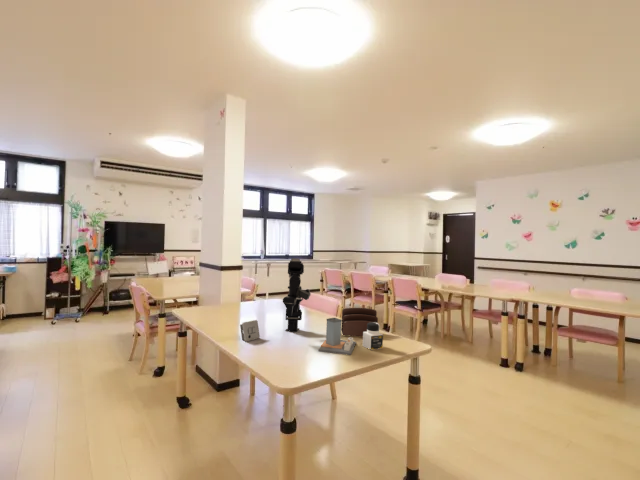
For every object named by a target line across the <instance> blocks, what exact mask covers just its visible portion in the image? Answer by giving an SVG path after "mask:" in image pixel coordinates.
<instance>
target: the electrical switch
mask: <svg viewBox="0 0 640 480" xmlns="http://www.w3.org/2000/svg"><path fill="white" fill-rule="evenodd" d="M241 323H242V324H239V326H240V327H239V328H240V334H241V341H244V342H251V341H253V340H257V339H260V337H261V336H260V328H259V320H257V319H253V320H250V321H244V322H241Z"/></svg>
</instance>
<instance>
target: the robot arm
mask: <svg viewBox="0 0 640 480" xmlns="http://www.w3.org/2000/svg"><path fill="white" fill-rule="evenodd" d="M304 268H305V267H304V263H303V262H302V260H300V258H296V257H295V258H291V260H289V262H287V274H288V278H289V280H288V282H289V283H288V284H289V285H288V286H287V289H288V293H287V296H284V297H283V298H282V303H283V305H284V307H285V308H286V309H285V320H286V321H287V328H286V329H285V330H284V331H285V332H293V333H297V332H299V330H300V328H299V321H302V318H303V315H302V314H303V311H302V310H301V309H300V307H301V306H300V304H301V303H302V301H303V300H306V301H308V300H309V298H310V297H311V295H312V293H311V290H310V289H308V288H307V289H302V286H301V283H302V282H301V281H302V280H301V275H303V273H304V272H305V269H304Z"/></svg>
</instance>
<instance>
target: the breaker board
mask: <svg viewBox="0 0 640 480" xmlns="http://www.w3.org/2000/svg"><path fill="white" fill-rule="evenodd" d="M355 344H357V341H355V340H354V337H352V336H349V337H348V338H347V340H345V339H341V342H340V345H336V346H331V345H329V344H326V339H325V340H323V342H322V344H320V347H319V348H318V352H323V353H332V354H341V355H346V354H347V355H348V356H351V355H352V353H353V351H354V348H355V347H356V345H355ZM354 346H355V347H354ZM347 355H346V356H347Z"/></svg>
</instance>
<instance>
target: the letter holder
mask: <svg viewBox="0 0 640 480" xmlns="http://www.w3.org/2000/svg"><path fill="white" fill-rule="evenodd" d="M341 311H342V312H341V320H342V321H341V335H342V334H343V335H350V336H349V337H359V336H363V332H366V331H367V324H368V323H369V322H375V323H378V324H379V325H380V323H379V322H378V321H379V317H378V316H377V313H378V312H377V310H376V309H372V308H367V307H347V308H345V307H344V308H343V309H342V310H341ZM343 335H342V336H343Z"/></svg>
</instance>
